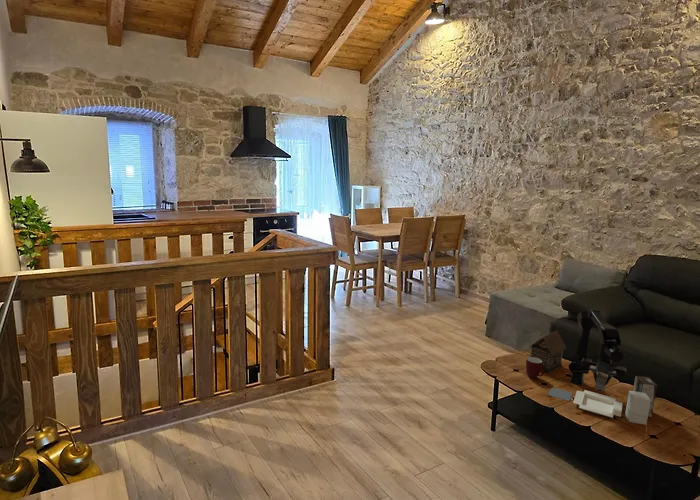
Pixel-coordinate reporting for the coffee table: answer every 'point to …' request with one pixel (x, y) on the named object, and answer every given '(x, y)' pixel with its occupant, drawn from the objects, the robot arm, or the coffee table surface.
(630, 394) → the supplement box
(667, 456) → the coffee table surface
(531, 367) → the mug
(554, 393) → the slate mat
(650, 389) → the coffee box
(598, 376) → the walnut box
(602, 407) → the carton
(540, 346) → the model building
